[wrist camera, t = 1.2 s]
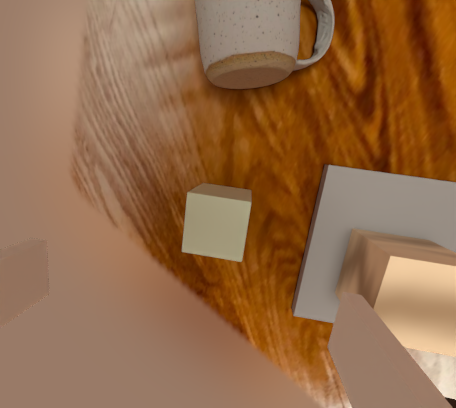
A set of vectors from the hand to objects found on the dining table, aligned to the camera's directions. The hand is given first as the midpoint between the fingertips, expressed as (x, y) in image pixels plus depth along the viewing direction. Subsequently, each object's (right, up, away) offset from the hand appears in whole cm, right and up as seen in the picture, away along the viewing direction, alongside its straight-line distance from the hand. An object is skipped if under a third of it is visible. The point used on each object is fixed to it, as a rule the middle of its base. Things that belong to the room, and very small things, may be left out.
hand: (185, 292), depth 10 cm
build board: (+17, -1, +13) cm, 21 cm away
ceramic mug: (+5, +19, +10) cm, 22 cm away
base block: (+17, -2, +12) cm, 21 cm away
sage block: (+1, +3, +14) cm, 14 cm away
